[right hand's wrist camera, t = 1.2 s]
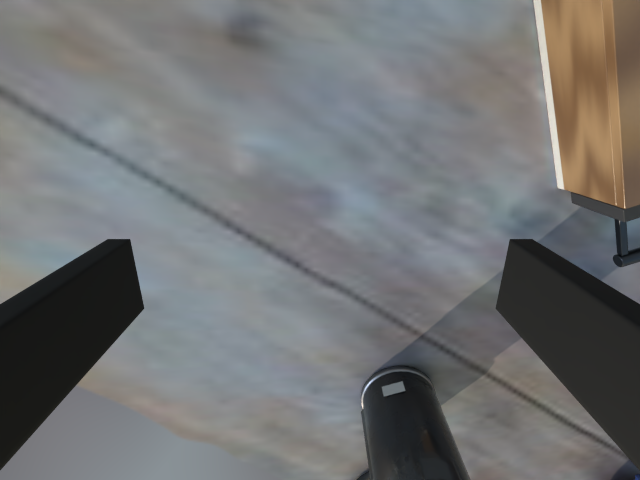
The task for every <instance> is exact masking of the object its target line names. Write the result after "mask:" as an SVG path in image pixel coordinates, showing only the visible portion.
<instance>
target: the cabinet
mask: <svg viewBox="0 0 640 480" xmlns="http://www.w3.org/2000/svg"><path fill="white" fill-rule="evenodd" d="M533 1H534V9H535V17H536V24H537V32H538V40H539V47H540V55H541V63H542V70H543V78H544V86H545V93H546V101H547V109H548V116H549V124H550V132H551V139H552V147H553V155H554V162H555V170H556V178H557V185H558V188H560V189H563V190H568V191H571V192H574V193H577V194H580V195H583V196H586V197H589V198H593V199H596V200H599V201H602V202H605V203H608V204H611V205H614V206H617V207H620V208H623V209H627V208H630V207H633V206H636V205H640V0H533Z"/></svg>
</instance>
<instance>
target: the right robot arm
mask: <svg viewBox="0 0 640 480" xmlns="http://www.w3.org/2000/svg"><path fill="white" fill-rule="evenodd" d="M143 309H144V305H143V300H142V295H141V290H140V285H139V281H138V276H137V271H136V266H135V261H134V256H133V251H132V246H131V241H130V239H107V240H106V241H104V242H102V243H101V244H99V245H97V246H96V247H94V248H93V249H91V250H89V251H88V252H86V253H84V254H83V255H81V256H79V257H78V258H76V259H74V260H73V261H71V262H69V263H68V264H66V265H64V266H63V267H61V268H60V269H58V270H56V271H55V272H53V273H51V274H50V275H48V276H46V277H45V278H43V279H41V280H40V281H38V282H36V283H35V284H33V285H31V286H30V287H28V288H26V289H25V290H23V291H22V292H20V293H18V294H17V295H15V296H13V297H12V298H10V299H8V300H7V301H5V302H3V303H2V304H0V470H1V469H2V468H3V467H4V466H5V464H6V463H7V462H8V461H9V460H10V459H11V458H12V457H13V455H14V454H15V453H16V452H17V451H18V450H19V449H20V448H21V446H22V445H23V444H24V443H25V442H26V441H27V440H28V438H29V437H30V436H31V435H32V434H33V433H34V432H35V431H36V430H37V428H38V427H39V426H40V425H41V424H42V423H43V422H44V421H45V419H46V418H47V417H48V416H49V415H50V414H51V413H52V412H53V410H54V409H55V408H56V407H57V406H58V405H59V404H60V403H61V401H62V400H63V399H64V398H65V397H66V396H67V395H68V394H69V392H70V391H71V390H72V389H73V388H74V387H75V386H76V385H77V383H78V382H79V381H80V380H81V379H82V378H83V377H84V376H85V374H86V373H87V372H88V371H89V370H90V369H91V368H92V367H93V365H94V364H95V363H96V362H97V361H98V360H99V359H100V358H101V356H102V355H103V354H104V353H105V352H106V351H107V350H108V349H109V347H110V346H111V345H112V344H113V343H114V342H115V341H116V340H117V338H118V337H119V336H120V335H121V334H122V333H123V332H124V331H125V330H126V328H127V327H128V326H129V325H130V324H131V323H132V322H133V321H134V319H135V318H136V317H137V316H138V315H139V314H140V313H141V312H142V310H143ZM496 309H497V310H498V312H499V313H500V314H501V315H502V316H503V317H504V318H505V319H506V321H507V322H508V323H509V324H510V325H511V326H512V327H513V328H514V330H515V331H516V332H517V333H518V334H519V335H520V336H521V337H522V338H523V340H524V341H525V342H526V343H527V344H528V345H529V346H530V347H531V349H532V350H533V351H534V352H535V353H536V354H537V355H538V356H539V358H540V359H541V360H542V361H543V362H544V363H545V364H546V365H547V367H548V368H549V369H550V370H551V371H552V372H553V373H554V374H555V376H556V377H557V378H558V379H559V380H560V381H561V382H562V383H563V385H564V386H565V387H566V388H567V389H568V390H569V391H570V392H571V394H572V395H573V396H574V397H575V398H576V399H577V400H578V401H579V403H580V404H581V405H582V406H583V407H584V408H585V409H586V410H587V412H588V413H589V414H590V415H591V416H592V417H593V418H594V419H595V421H596V422H597V423H598V424H599V425H600V426H601V427H602V428H603V430H604V431H605V432H606V433H607V434H608V435H609V436H610V437H611V439H612V440H613V441H614V442H615V443H616V444H617V445H618V446H619V448H620V449H621V450H622V451H623V452H624V453H625V454H626V455H627V457H628V458H629V459H630V460H631V461H632V462H633V463H634V464H635V466H636V467H637V468H638V469H639V470H640V304H638V303H637V302H635V301H633V300H632V299H630V298H628V297H627V296H625V295H623V294H622V293H620V292H618V291H617V290H615V289H614V288H612V287H610V286H609V285H607V284H605V283H604V282H602V281H600V280H599V279H597V278H595V277H594V276H592V275H590V274H589V273H587V272H585V271H584V270H582V269H580V268H579V267H577V266H576V265H574V264H572V263H571V262H569V261H567V260H566V259H564V258H562V257H561V256H559V255H557V254H556V253H554V252H552V251H551V250H549V249H547V248H546V247H544V246H542V245H541V244H539V243H538V242H536V241H534V240H533V239H510V241H509V246H508V251H507V256H506V261H505V266H504V271H503V276H502V281H501V285H500V290H499V295H498V300H497V305H496Z"/></svg>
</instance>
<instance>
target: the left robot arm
mask: <svg viewBox="0 0 640 480" xmlns="http://www.w3.org/2000/svg"><path fill="white" fill-rule="evenodd" d="M361 402H362V407H363V410H362V411H361V414H362V422H363V429H364V436H365V444H366V451H367V458H368V466H369V472H367V473H365V474H364V475H362V476H361V477H359V478H358V479H357V480H369V479H370V480H470V478H469V475H468V473H467V470H466V468H465V465H464V463H463V460H462V458H461V455H460V453H459V451H458V448H457V446H456V443H455V441H454V438H453V436H452V433H451V431H450V428H449V426H448V424H447V421H446V419H445V416H444V414H443V411H442V409H441V406H440V404H439V401H438V399H437V397H436V393H435V389H434V387H433V385H432V382H431V381H430V379H429V378H428V377H427V376H426V375H425V374H424V373H423V372H421V371H419V370H417V369H415V368H411V367H406V366H395V367H389V368H386V369H383V370H381V371H379V372H377V373H375V374H374V375H372V376H371V377H370V378H369V379H368V380H367V381H366V383H365V384H364V386H363V389H362V392H361Z"/></svg>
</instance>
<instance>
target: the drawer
mask: <svg viewBox="0 0 640 480" xmlns="http://www.w3.org/2000/svg"><path fill="white" fill-rule="evenodd" d="M571 198H572V203H574V204H576V205H579V206H582V207H584V208H587V209H590V210H593V211H595V212H598V213H601V214H604V215H606V216H609V217H612V218H614V219H615V230H616V243H617V255H614V256H613V261H614V263H615V264H616V265H617V266H618V267H624V266H627V265H630V264H634V263H637V262H640V248H636V249H633V250H630V251H628V242H627V226H626V222H627V221H630V220H633V219H636V218H639V217H640V205H636V206H633V207H630V208H627V209H623V208H620V207H617V206H614V205H611V204H608V203H605V202H602V201H599V200H596V199H593V198H589V197H586V196H583V195H580V194H577V193H574V192H571Z"/></svg>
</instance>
